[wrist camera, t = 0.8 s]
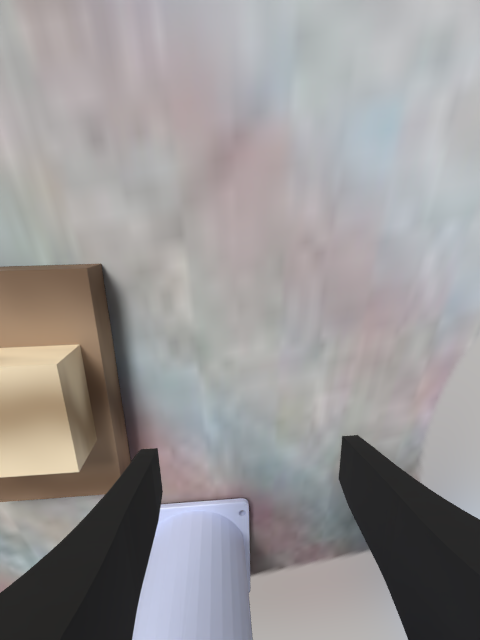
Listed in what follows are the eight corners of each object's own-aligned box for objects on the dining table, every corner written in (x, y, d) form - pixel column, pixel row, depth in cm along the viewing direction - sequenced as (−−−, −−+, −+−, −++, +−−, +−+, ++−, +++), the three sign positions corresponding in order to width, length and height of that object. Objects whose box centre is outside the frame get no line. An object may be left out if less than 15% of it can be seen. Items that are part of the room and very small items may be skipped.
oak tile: (97, 439, 18) (79, 472, 16) (-10, 446, 18) (-45, 480, 15) (79, 344, 16) (56, 364, 14) (-40, 349, 16) (-84, 371, 14)
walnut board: (131, 469, 21) (123, 492, 19) (-5, 478, 21) (-28, 504, 19) (101, 263, 17) (86, 268, 15) (-70, 268, 17) (-107, 274, 15)
